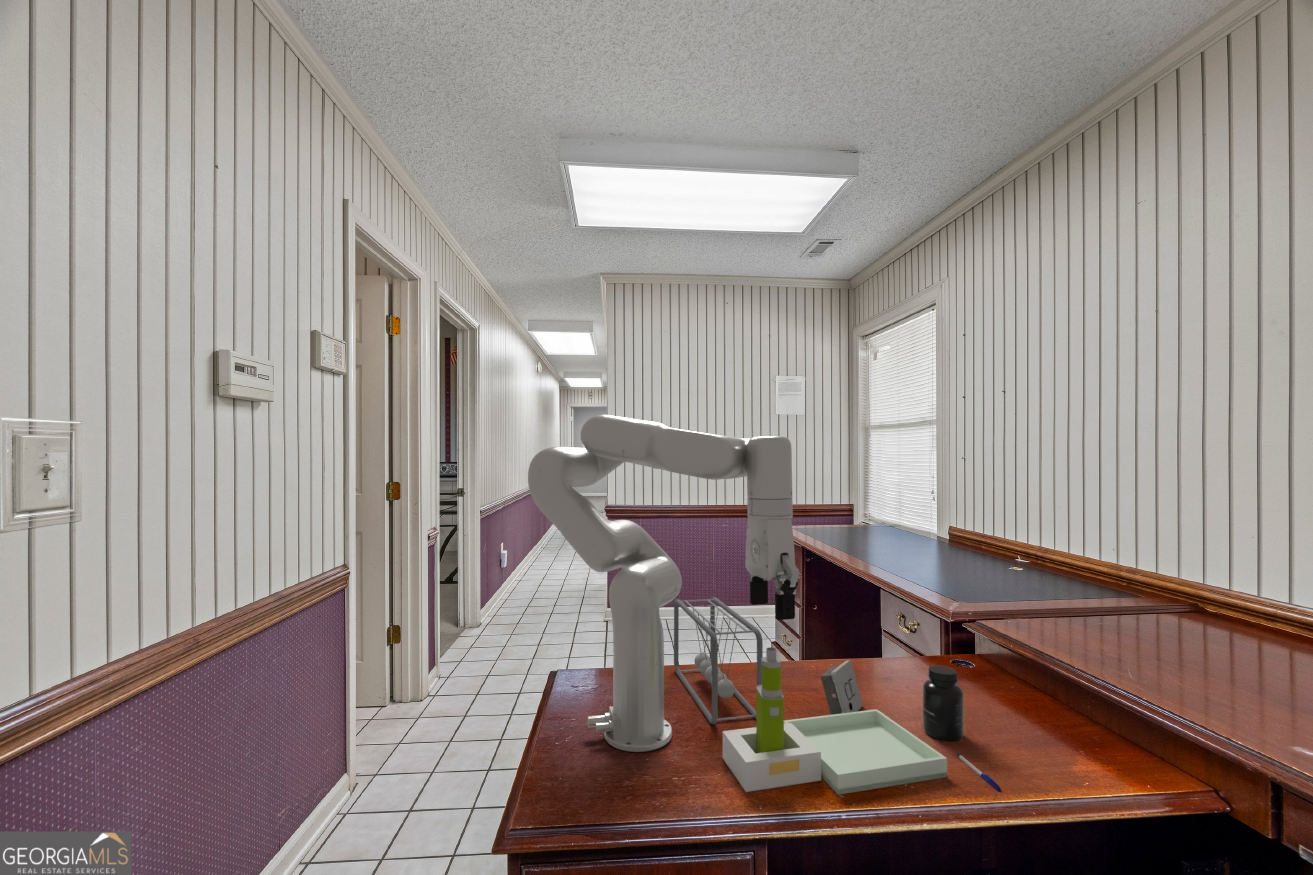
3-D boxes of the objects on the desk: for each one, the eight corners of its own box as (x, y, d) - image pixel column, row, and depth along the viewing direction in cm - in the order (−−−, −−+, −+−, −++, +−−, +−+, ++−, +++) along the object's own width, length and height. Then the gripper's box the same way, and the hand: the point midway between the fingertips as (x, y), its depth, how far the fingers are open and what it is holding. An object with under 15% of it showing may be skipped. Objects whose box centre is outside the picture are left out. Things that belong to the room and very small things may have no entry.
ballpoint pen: (1003, 792, 85) (1003, 785, 85) (998, 792, 85) (997, 786, 85) (959, 756, 96) (959, 750, 96) (954, 756, 95) (954, 750, 95)
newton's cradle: (673, 670, 134) (673, 597, 134) (713, 666, 136) (714, 594, 137) (712, 729, 104) (712, 635, 105) (763, 723, 107) (763, 631, 108)
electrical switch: (848, 723, 107) (843, 673, 108) (822, 717, 110) (818, 670, 111) (864, 706, 114) (859, 660, 115) (839, 702, 118) (835, 657, 119)
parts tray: (838, 794, 84) (837, 774, 84) (783, 737, 101) (783, 720, 101) (947, 776, 89) (946, 757, 89) (876, 724, 106) (876, 709, 106)
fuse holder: (746, 792, 84) (746, 762, 84) (722, 757, 94) (722, 731, 94) (822, 781, 87) (821, 752, 88) (791, 748, 97) (790, 722, 98)
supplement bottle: (918, 734, 103) (917, 669, 103) (929, 721, 108) (928, 659, 108) (958, 747, 98) (957, 679, 99) (968, 733, 103) (967, 669, 104)
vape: (763, 779, 88) (763, 653, 89) (754, 759, 94) (754, 641, 95) (786, 778, 88) (785, 652, 89) (776, 758, 94) (775, 640, 95)
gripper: (730, 505, 100) (731, 600, 99) (772, 514, 83) (774, 627, 83) (767, 504, 102) (769, 597, 101) (816, 512, 85) (818, 623, 84)
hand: (771, 610), depth 92 cm, fingers open, 9 cm apart
